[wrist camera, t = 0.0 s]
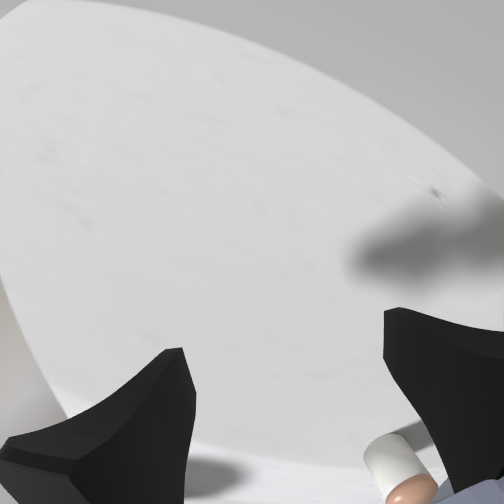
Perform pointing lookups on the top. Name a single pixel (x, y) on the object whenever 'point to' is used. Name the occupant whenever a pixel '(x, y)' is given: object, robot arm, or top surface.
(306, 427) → the top surface
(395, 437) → the white and brown cylinder
